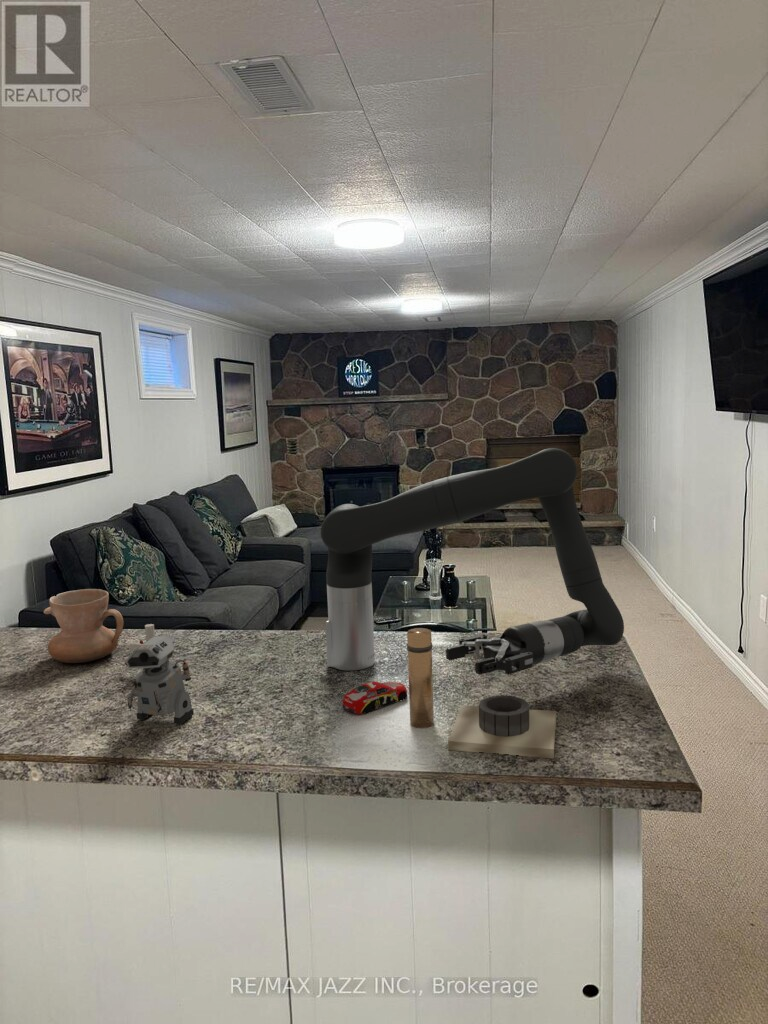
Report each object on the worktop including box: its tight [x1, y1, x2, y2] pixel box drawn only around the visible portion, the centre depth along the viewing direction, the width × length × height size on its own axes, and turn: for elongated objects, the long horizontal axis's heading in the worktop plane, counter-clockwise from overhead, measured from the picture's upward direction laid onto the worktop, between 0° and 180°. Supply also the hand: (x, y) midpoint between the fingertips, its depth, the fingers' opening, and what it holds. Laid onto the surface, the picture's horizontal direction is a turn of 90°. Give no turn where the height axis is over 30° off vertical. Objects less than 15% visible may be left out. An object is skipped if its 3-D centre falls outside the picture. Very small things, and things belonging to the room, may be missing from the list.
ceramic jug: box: [43, 588, 124, 664], centre depth 167 cm, size 18×14×14 cm
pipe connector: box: [128, 623, 156, 655], centre depth 156 cm, size 10×10×10 cm
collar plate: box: [447, 694, 557, 760], centre depth 122 cm, size 16×14×5 cm
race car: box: [342, 681, 408, 715], centre depth 137 cm, size 13×5×4 cm, turn 128°
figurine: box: [124, 634, 195, 726], centre depth 130 cm, size 9×12×15 cm
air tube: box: [406, 627, 435, 729], centre depth 126 cm, size 4×4×16 cm
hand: (461, 661), depth 131 cm, fingers open, 8 cm apart
